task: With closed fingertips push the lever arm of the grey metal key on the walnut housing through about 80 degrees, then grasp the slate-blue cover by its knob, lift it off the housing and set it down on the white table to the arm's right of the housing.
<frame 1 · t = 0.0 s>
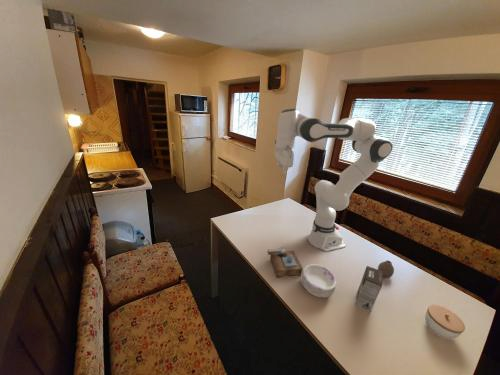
hand: (281, 170, 105), 48 cm above the table, fingers open, 8 cm apart
lidded jar: (437, 330, 81), on the table
cover: (289, 262, 104), point 5 cm above the table, touching housing
key: (276, 251, 107), point 7 cm above the table, hinge at 0.0°
white round bowl: (316, 288, 96), on the table
coffee box: (363, 301, 91), on the table
vase: (383, 275, 106), on the table
housing: (284, 267, 107), on the table
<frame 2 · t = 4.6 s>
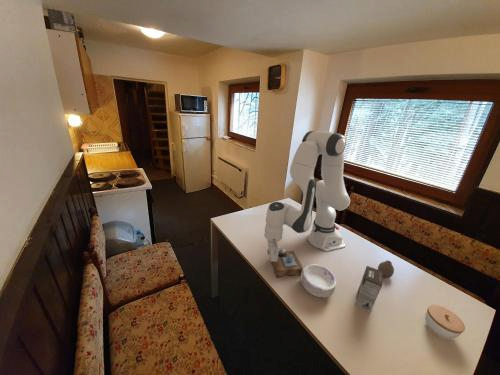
hand: (270, 255, 105), 7 cm above the table, fingers closed
key: (276, 251, 107), point 7 cm above the table, hinge at -0.4°, touching gripper
everything else where it was.
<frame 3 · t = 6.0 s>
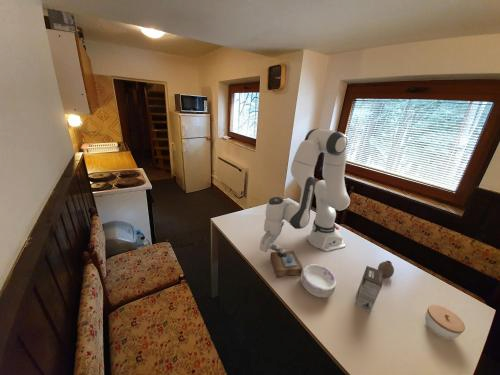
hand: (269, 248, 110), 7 cm above the table, fingers closed, pressing on key
key: (276, 249, 109), point 7 cm above the table, hinge at -40.3°, touching gripper
everything else where it was.
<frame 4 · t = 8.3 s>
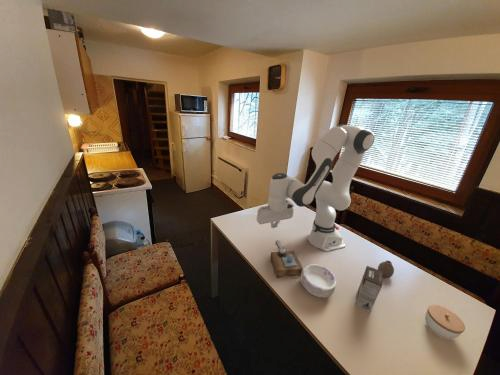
hand: (273, 227, 108), 19 cm above the table, fingers closed
key: (280, 247, 111), point 7 cm above the table, hinge at -83.5°
everything else where it was.
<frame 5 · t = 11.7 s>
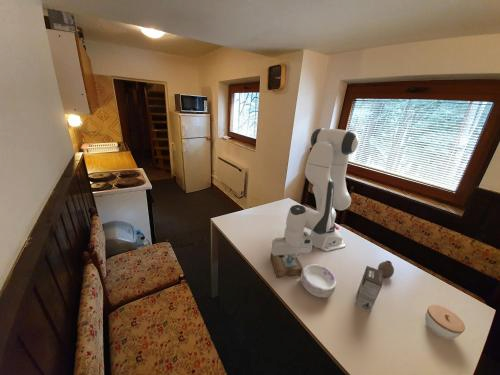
hand: (289, 259, 103), 7 cm above the table, fingers closed on cover, 2 cm apart
cover: (289, 262, 104), point 5 cm above the table, touching gripper, housing
everything else where it was.
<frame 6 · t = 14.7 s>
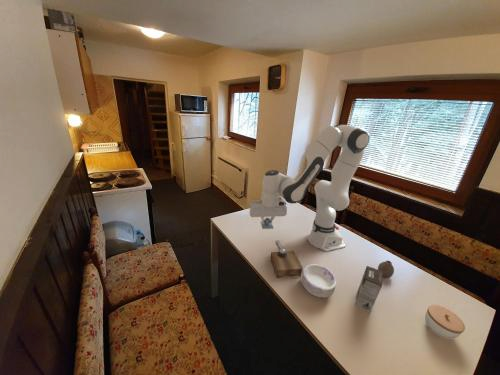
hand: (267, 222, 112), 19 cm above the table, fingers closed on cover, 2 cm apart
cover: (266, 225, 113), point 17 cm above the table, touching gripper
everything else where it was.
when the fingers open (3 cm above the table, at t = 17.6 s): cover drops 1 cm, on the table.
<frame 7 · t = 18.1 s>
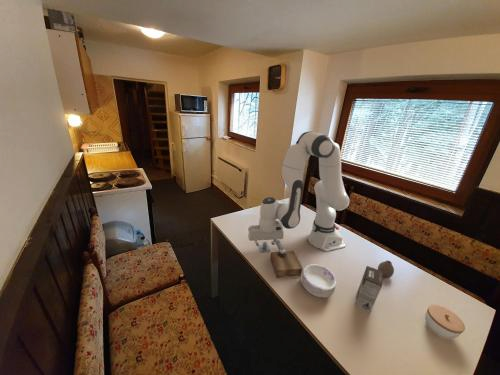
hand: (264, 244, 118), 3 cm above the table, fingers open, 8 cm apart
cover: (264, 249, 120), on the table
everything else where it was.
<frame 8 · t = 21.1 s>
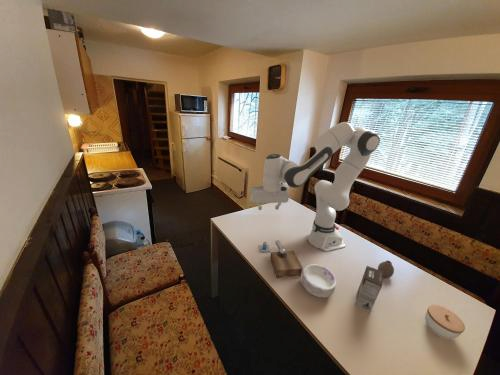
hand: (268, 209, 109), 27 cm above the table, fingers open, 8 cm apart
nothing on the table moved.
at the end: key at -84° (first picture: +0°); cover inside the target area (0.1 cm from its centre), on the table; cover tilted 0° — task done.
